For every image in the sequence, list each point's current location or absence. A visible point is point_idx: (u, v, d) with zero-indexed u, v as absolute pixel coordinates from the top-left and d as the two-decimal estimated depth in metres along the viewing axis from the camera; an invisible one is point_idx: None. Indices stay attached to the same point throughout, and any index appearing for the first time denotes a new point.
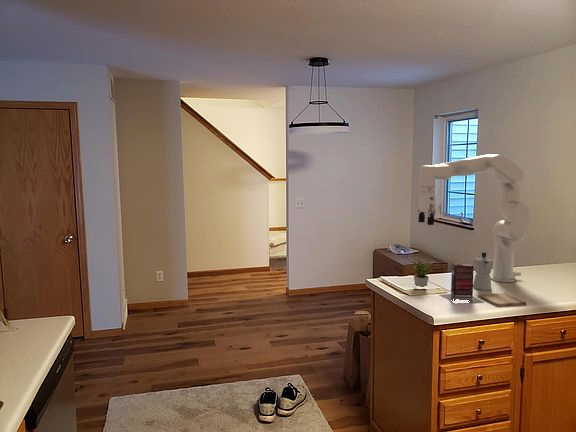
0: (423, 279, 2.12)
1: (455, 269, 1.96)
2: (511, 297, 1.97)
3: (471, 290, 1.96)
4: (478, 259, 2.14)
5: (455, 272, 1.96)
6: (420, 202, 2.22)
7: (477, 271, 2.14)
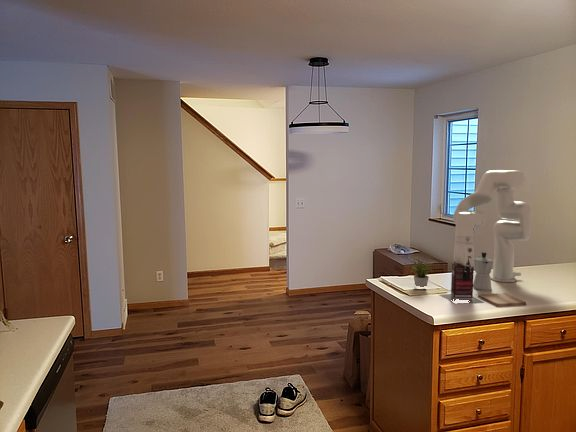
0: (423, 279, 2.12)
1: (455, 269, 1.96)
2: (511, 297, 1.97)
3: (471, 290, 1.96)
4: (478, 259, 2.14)
5: (455, 272, 1.96)
6: (456, 252, 1.99)
7: (477, 271, 2.14)
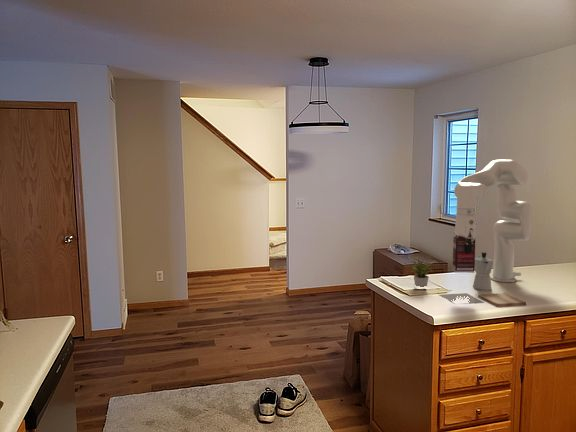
0: (423, 279, 2.12)
1: (457, 242, 1.95)
2: (511, 297, 1.97)
3: (473, 263, 1.95)
4: (478, 259, 2.14)
5: (457, 245, 1.95)
6: (457, 225, 1.97)
7: (477, 271, 2.14)
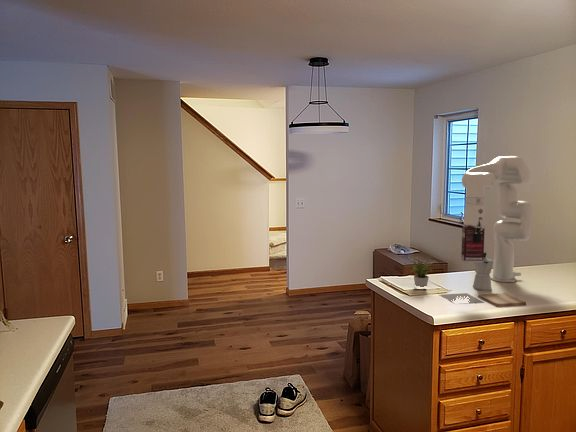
0: (423, 279, 2.12)
1: (466, 231, 1.93)
2: (511, 297, 1.97)
3: (482, 252, 1.94)
4: None
5: (466, 234, 1.94)
6: (466, 215, 1.96)
7: (477, 271, 2.14)
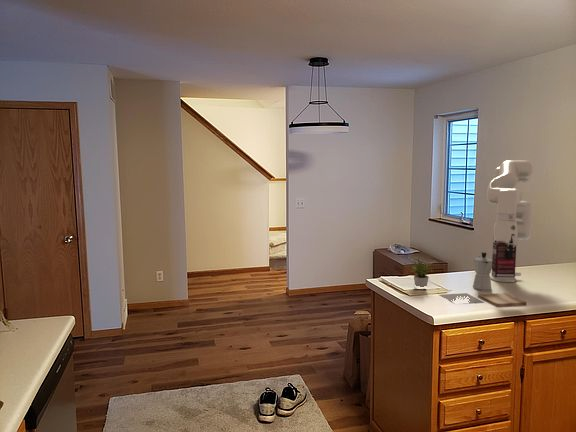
0: (423, 279, 2.12)
1: (497, 248, 1.91)
2: (511, 297, 1.97)
3: (513, 269, 1.92)
4: (478, 259, 2.14)
5: (497, 251, 1.92)
6: (497, 231, 1.94)
7: (477, 271, 2.14)
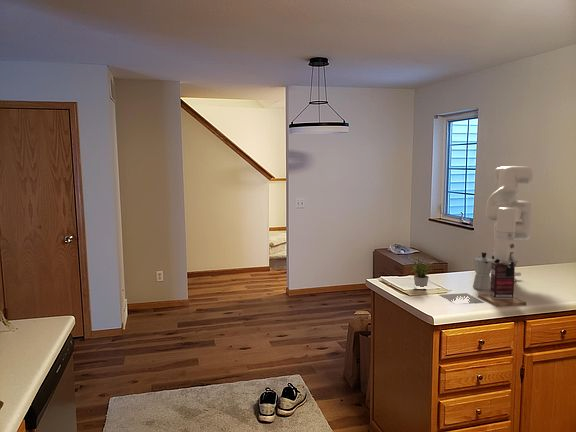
0: (423, 279, 2.12)
1: (496, 268, 1.93)
2: None
3: (512, 289, 1.94)
4: (478, 259, 2.14)
5: (496, 271, 1.93)
6: (496, 249, 1.95)
7: (477, 271, 2.14)
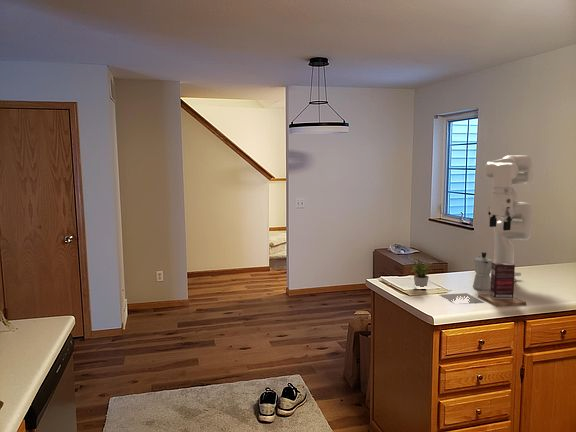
0: (423, 279, 2.12)
1: (496, 268, 1.93)
2: None
3: (512, 289, 1.94)
4: (478, 259, 2.14)
5: (496, 271, 1.93)
6: (493, 205, 2.00)
7: (477, 271, 2.14)
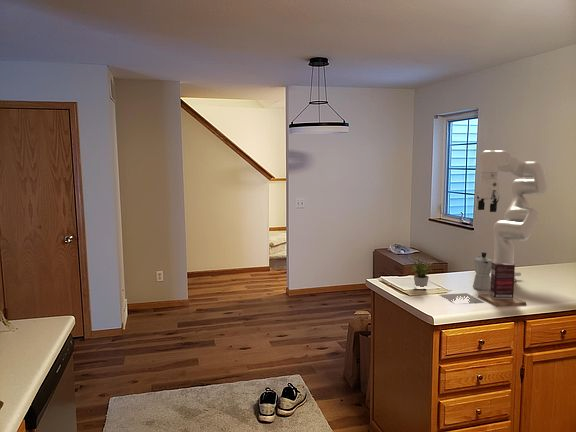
0: (423, 279, 2.12)
1: (496, 268, 1.93)
2: None
3: (512, 289, 1.94)
4: (478, 259, 2.14)
5: (496, 271, 1.93)
6: (481, 189, 2.16)
7: (477, 271, 2.14)
